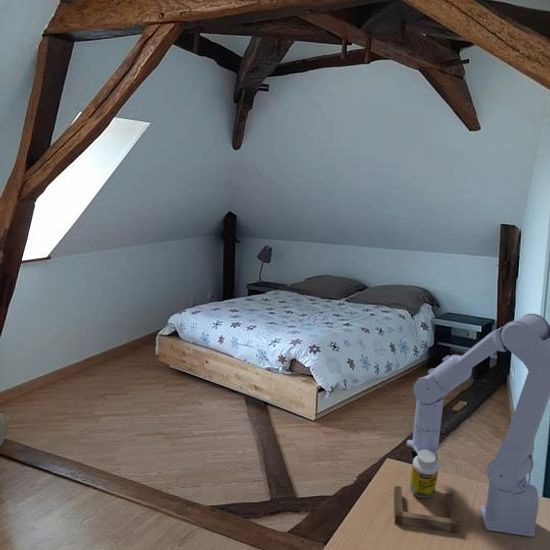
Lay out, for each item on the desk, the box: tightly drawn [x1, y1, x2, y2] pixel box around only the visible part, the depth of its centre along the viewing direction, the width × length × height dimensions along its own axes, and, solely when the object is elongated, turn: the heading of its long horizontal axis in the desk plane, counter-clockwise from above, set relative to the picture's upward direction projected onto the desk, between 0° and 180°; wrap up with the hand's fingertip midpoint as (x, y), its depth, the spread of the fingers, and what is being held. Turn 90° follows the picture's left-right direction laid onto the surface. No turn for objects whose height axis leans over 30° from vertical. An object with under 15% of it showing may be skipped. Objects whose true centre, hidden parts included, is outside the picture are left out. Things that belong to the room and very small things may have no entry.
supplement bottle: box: [409, 450, 440, 499], centre depth 126 cm, size 6×6×10 cm
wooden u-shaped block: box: [393, 485, 460, 534], centre depth 121 cm, size 12×11×2 cm
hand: (421, 480), depth 132 cm, fingers closed
